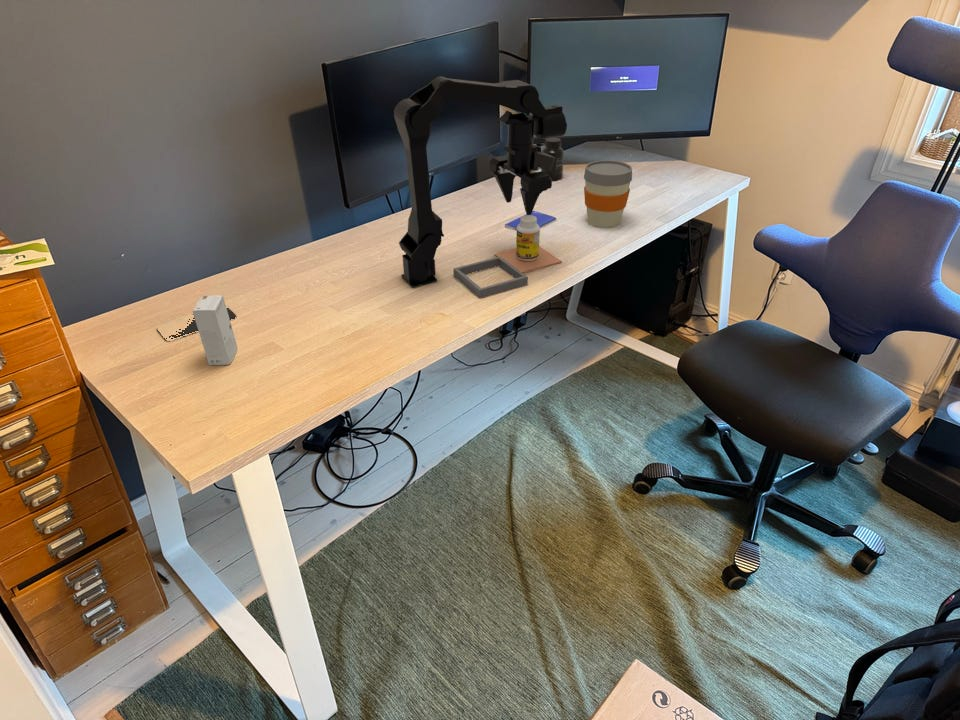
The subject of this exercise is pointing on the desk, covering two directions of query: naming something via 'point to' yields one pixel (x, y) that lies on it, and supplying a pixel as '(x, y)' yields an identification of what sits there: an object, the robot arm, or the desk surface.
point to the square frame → (496, 288)
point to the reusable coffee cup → (606, 192)
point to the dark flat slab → (193, 325)
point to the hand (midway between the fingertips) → (518, 208)
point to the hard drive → (541, 220)
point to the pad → (527, 266)
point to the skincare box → (215, 330)
